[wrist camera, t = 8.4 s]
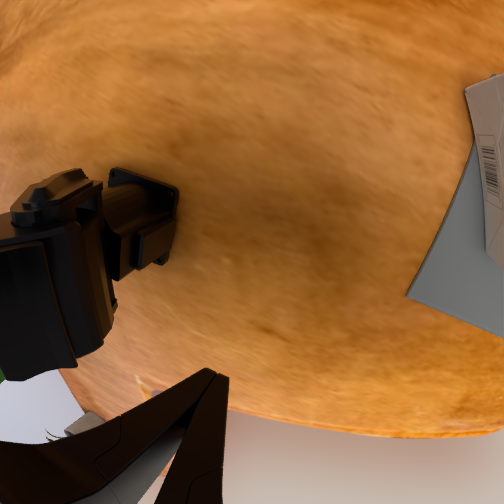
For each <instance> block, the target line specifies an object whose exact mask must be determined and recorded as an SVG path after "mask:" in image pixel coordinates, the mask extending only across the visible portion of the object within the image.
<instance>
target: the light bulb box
mask: <svg viewBox="0 0 504 504" xmlns="http://www.w3.org/2000/svg"><path fill="white" fill-rule="evenodd" d="M465 95H466V98H467V102H468V106H469V111H470V115H471V119H472V124H473V128H474V133H475V139H476V144H477V150H478V157H479V163H480V171H481V179H482V188H483V198H484V211H485V234H486V253H487V255H488V256H489V257H490V258H491V259H492V260H493V261H494V262H495V263H496V264H497V265H498V266H499V267H500V268H501V269H502V271H503V272H504V73H502V74H499V75H496V76H494V77H491V78H489V79H486V80H483V81H481V82H478V83H476V84H473V85H471V86H469V87H467V88H465Z"/></svg>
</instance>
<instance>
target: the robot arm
mask: <svg viewBox="0 0 504 504" xmlns="http://www.w3.org/2000/svg"><path fill="white" fill-rule="evenodd" d="M115 173H116V176H115ZM170 191H171V192H172V193H173V196H171V195H170ZM178 195H179V192H178V190H177V188H175V187H174V186H171V185H168V184H165V183H162V182H159V181H156V180H153V179H151V178H148V177H145V176H142V175H139V174H136V173H133V172H130V171H127V170H124V169H121V168H118V167H115V168H112V169H111V170H110V172H109V181H108V187H107V188H104V189H103V181H94V180H89V179H88V177H86V175H85V174H84V172H83V171H82V169H81V168H74V169H70V170H67V171H63V172H60V173H57V174H54V175H52V176H50V177H49V178H47V179H44V180H43V181H42V182H40V183H36V184H33V185H30V186H29V187H28V188H27V189H26V190H25V191H24V192H23V194H22V195H21V196H20V197H19V198H18V199H17V200H16V201H15V202H14V204H13V205H12V206H11V208H10V212H7V213H4V214H1V215H0V370H1V372H2V374H3V376H4V378H5V379H6V380H8V381H25V380H27V379H29V378H32V377H34V376H36V375H38V374H41V373H44V372H46V371H50V370H55V369H60V368H76V367H78V363H77V360H76V359H78V358H81V357H83V356H86V355H88V354H90V353H92V352H94V351H96V350H97V349H98V348H100V347H101V346H102V345H103V344H104V340H103V339H104V338H105V337H106V335H107V334H108V333H109V331H110V330H111V328H112V325H113V321H114V315H113V314H114V313H115V311H116V309H117V307H118V304H117V299H116V298H115V295H114V290H113V284H112V279H113V280H115V281H117V282H118V281H119V280H121V279H122V278H124V277H125V276H126V275H128V274H129V273H131V272H132V271H133V270H135V269H136V270H138V271H140V270H142V269H143V268H145V267H146V266H147V265H149V264H150V263H152V262H153V263H155V264H158V265H160V266H162V265H164V264H165V263H167V261H168V255H169V250H170V249H171V247H172V241H173V235H174V229H175V223H176V219H175V212H176V206H177V201H178ZM160 257H161V258H162V260H161V259H160ZM228 393H229V377H227V376H225V375H223V374H220V373H218V374H217V372H216V371H213V370H211V369H209V368H203V369H201V370H200V371H198V372H196V373H195V374H193V375H191V376H190V377H188V378H186V379H185V380H183V381H181V382H179V383H178V384H176V385H174V386H172V387H171V388H169V389H167V390H165V391H164V392H162V393H160V394H158V395H156V396H155V397H153V398H151V399H149V400H147V401H146V402H144V403H142V404H140V405H138V406H136V407H135V408H133V409H131V410H129V411H127V412H125V413H123V414H121V416H117V417H115V418H113V419H112V420H110V421H107V422H105V423H103V424H101V425H99V426H97V427H94V428H91V429H89V430H86V431H83V432H80V433H77V434H74V435H71V436H68V437H65V438H62V439H58V440H55V441H52V442H48V443H43V444H22V443H13V442H5V441H0V504H137V503H138V501H139V500H140V499H141V498H142V497H143V495H144V494H145V493H146V491H147V490H148V489H149V487H150V486H151V485H152V483H153V482H154V481H155V480H156V478H157V477H158V476H159V474H160V473H161V472H162V470H163V469H164V468H165V466H166V465H167V464H168V462H169V461H170V460H171V458H172V457H173V456H174V454H175V453H176V455H175V457H174V459H173V461H172V464H171V466H170V468H169V471H168V473H167V475H166V478H165V480H164V483H163V484H162V487H161V489H160V491H159V494H158V496H157V498H156V500H155V503H154V504H223V499H222V477H223V461H224V447H225V434H226V420H227V419H226V418H227V407H228Z"/></svg>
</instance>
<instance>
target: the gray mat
mask: <svg viewBox="0 0 504 504" xmlns="http://www.w3.org/2000/svg"><path fill="white" fill-rule="evenodd" d="M494 76H496V74H492V77H494ZM406 297H407V298H410V299H412V300H414V301H417V302H419V303H422V304H424V305H426V306H429V307H431V308H434V309H436V310H438V311H441V312H443V313H445V314H448V315H450V316H453V317H455V318H457V319H460V320H462V321H464V322H467V323H469V324H471V325H474V326H476V327H478V328H481V329H483V330H485V331H488V332H490V333H492V334H495V335H497V336H499V337H502V338H504V272H503V271H502V269H501V268H500V267H499V266H498V265H497V264H496V263H495V262H494V261H493V260H492V259H491V258H490V257H489V256H488V255H487V253H486V234H485V211H484V198H483V188H482V179H481V171H480V163H479V157H478V150H477V144H476V139H475V140H474V143H473V146H472V149H471V152H470V155H469V158H468V161H467V163H466V166H465V169H464V172H463V174H462V177H461V180H460V182H459V185H458V187H457V190H456V192H455V195H454V197H453V199H452V202H451V204H450V207H449V209H448V211H447V213H446V216H445V218H444V220H443V222H442V225H441V227H440V229H439V231H438V233H437V235H436V237H435V240H434V242H433V244H432V246H431V248H430V250H429V252H428V254H427V256H426V258H425V260H424V262H423V264H422V266H421V267H420V269H419V271H418V273H417V275H416V277H415V279H414V280H413V282H412V284H411V286H410V288H409V289H408V291H407V293H406Z"/></svg>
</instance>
